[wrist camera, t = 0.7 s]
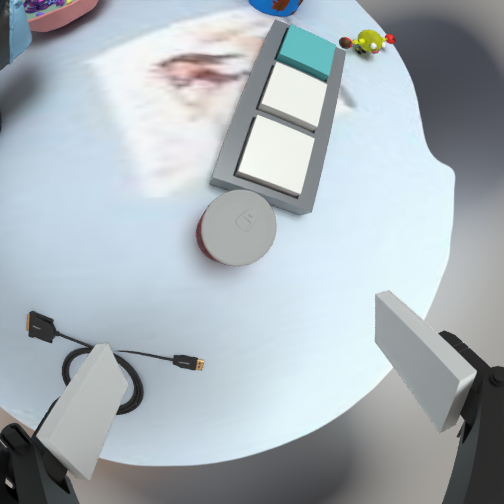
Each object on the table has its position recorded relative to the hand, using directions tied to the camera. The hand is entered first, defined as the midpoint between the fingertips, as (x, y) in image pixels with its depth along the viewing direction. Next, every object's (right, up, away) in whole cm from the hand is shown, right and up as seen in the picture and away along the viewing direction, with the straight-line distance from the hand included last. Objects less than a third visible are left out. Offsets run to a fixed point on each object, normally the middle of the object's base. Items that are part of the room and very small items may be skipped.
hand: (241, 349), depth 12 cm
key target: (+9, +37, +27) cm, 47 cm away
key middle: (+6, +27, +27) cm, 39 cm away
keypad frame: (+6, +27, +29) cm, 40 cm away
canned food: (-3, +7, +27) cm, 28 cm away
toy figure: (+23, +47, +33) cm, 62 cm away
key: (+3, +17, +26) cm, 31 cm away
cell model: (-36, +51, +18) cm, 65 cm away
